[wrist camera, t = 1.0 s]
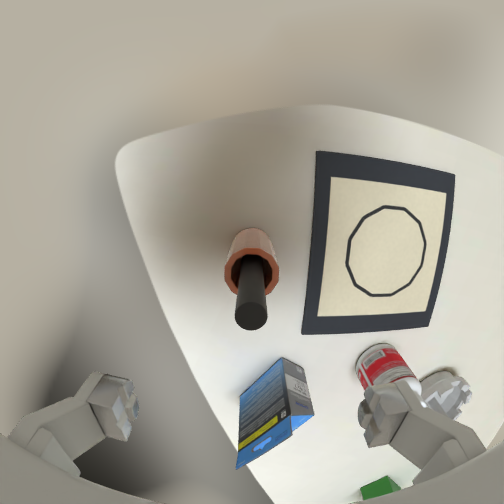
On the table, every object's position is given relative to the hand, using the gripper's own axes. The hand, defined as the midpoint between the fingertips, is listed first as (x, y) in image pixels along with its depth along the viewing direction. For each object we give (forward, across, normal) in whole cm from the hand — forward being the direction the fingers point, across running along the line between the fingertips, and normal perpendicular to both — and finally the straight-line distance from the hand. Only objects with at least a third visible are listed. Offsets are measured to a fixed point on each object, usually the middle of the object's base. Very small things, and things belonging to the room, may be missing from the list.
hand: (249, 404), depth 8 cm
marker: (+20, 0, 0) cm, 20 cm away
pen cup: (+21, 0, 0) cm, 21 cm away
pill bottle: (+21, -17, +15) cm, 31 cm away
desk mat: (+21, -15, 0) cm, 25 cm away
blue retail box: (+21, -3, +18) cm, 28 cm away
